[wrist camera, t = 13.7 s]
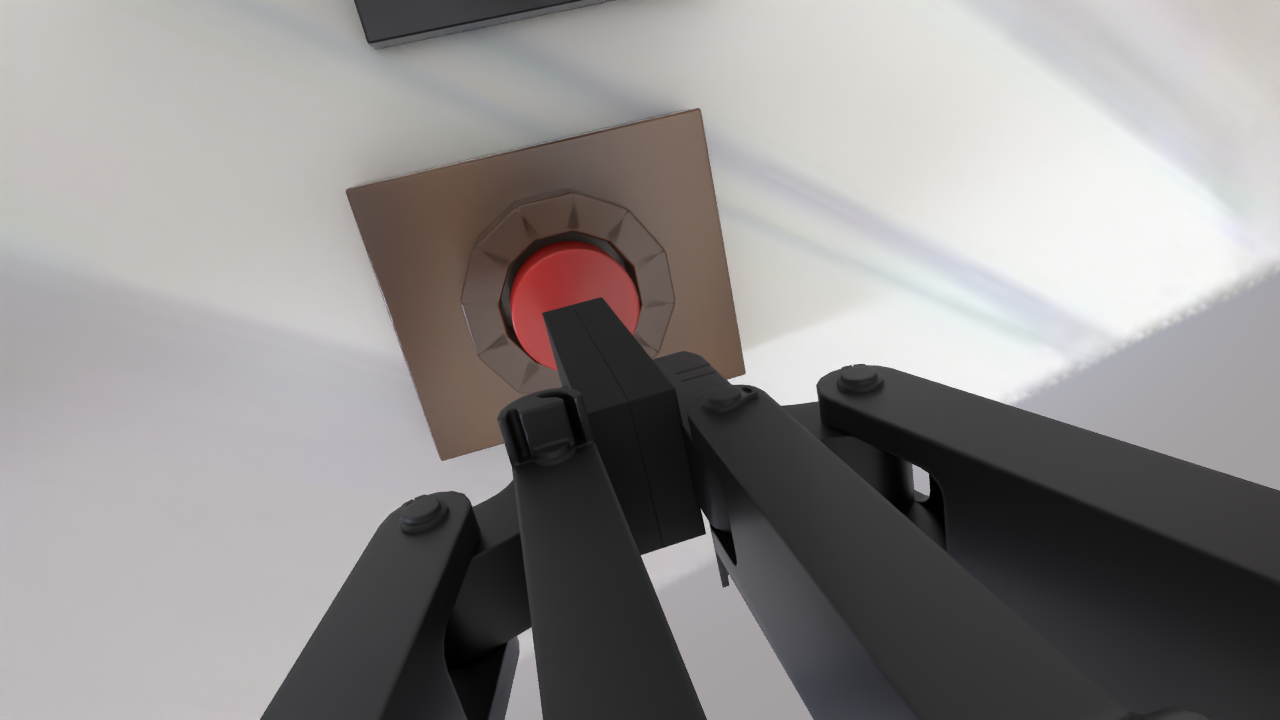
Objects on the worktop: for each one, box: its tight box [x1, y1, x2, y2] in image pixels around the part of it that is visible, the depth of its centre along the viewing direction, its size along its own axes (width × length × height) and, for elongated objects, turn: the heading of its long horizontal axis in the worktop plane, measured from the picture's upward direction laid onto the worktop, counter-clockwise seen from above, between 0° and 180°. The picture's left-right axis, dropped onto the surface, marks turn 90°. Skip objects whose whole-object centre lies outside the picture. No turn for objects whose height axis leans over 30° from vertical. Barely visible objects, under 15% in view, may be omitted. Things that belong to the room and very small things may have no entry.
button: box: [510, 241, 639, 371], centre depth 22 cm, size 4×4×2 cm
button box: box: [346, 108, 745, 461], centre depth 24 cm, size 12×10×4 cm
